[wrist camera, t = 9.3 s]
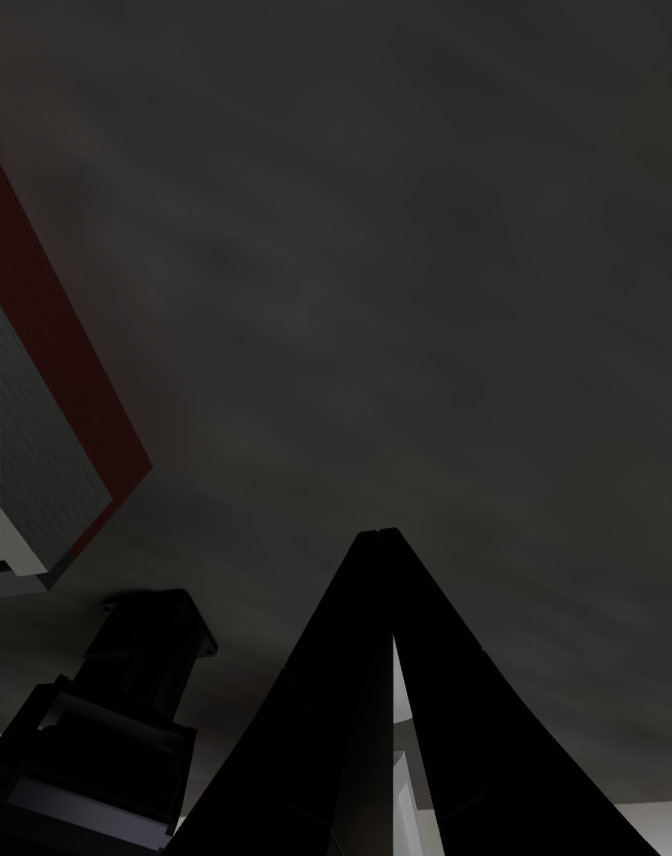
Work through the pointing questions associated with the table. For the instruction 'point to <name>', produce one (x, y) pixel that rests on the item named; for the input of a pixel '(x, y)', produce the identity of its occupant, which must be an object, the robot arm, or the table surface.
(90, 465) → the lid
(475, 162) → the table surface
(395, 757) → the heart sculpture
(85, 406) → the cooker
